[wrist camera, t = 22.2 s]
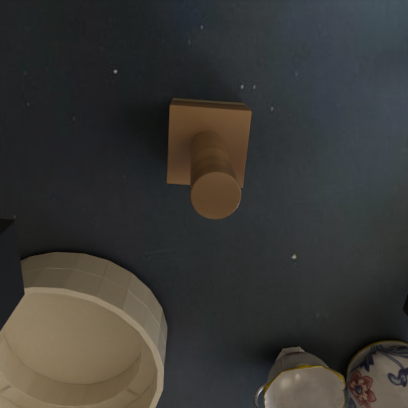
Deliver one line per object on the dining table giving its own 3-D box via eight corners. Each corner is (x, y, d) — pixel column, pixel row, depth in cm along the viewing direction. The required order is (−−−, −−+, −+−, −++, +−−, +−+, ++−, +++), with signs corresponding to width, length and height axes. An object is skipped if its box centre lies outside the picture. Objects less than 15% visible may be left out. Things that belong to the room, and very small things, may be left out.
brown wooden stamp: (172, 97, 31) (158, 133, 18) (244, 102, 31) (282, 141, 18) (169, 166, 33) (155, 245, 20) (236, 171, 34) (266, 251, 20)
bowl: (-31, 242, 36) (-76, 281, 30) (171, 253, 37) (167, 293, 31) (-4, 390, 43) (-36, 446, 37) (164, 396, 44) (160, 450, 38)
